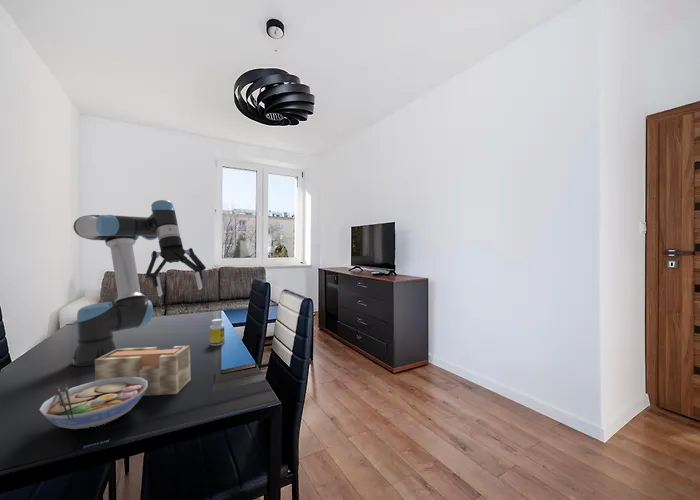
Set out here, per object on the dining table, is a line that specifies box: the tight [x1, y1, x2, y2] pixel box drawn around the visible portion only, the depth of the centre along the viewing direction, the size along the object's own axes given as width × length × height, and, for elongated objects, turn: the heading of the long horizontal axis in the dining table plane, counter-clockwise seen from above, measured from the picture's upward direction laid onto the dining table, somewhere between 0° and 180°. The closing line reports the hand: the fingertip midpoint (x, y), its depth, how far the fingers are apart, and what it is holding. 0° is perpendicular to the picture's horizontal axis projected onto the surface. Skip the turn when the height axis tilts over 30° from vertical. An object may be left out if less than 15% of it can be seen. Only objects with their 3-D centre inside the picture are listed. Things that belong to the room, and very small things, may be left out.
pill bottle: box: [209, 318, 226, 346], centre depth 154 cm, size 6×6×12 cm
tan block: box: [109, 348, 180, 367], centre depth 105 cm, size 20×4×4 cm, turn 95°
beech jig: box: [94, 345, 192, 397], centre depth 105 cm, size 24×11×12 cm, turn 95°
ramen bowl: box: [38, 377, 148, 430], centre depth 86 cm, size 25×23×8 cm
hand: (181, 292), depth 117 cm, fingers open, 13 cm apart
